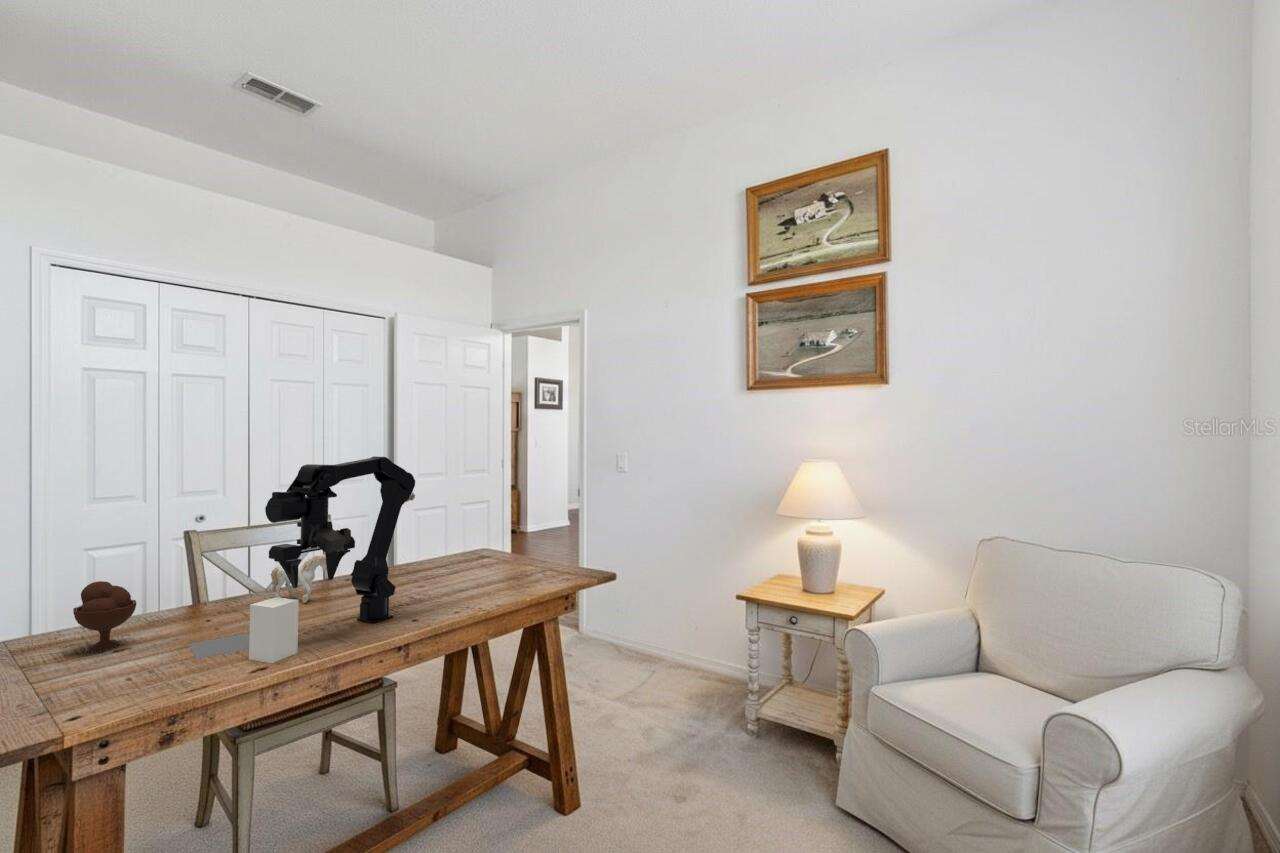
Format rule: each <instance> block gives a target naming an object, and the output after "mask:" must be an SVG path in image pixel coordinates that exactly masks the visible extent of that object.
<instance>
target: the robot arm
mask: <svg viewBox="0 0 1280 853" xmlns="http://www.w3.org/2000/svg"><path fill="white" fill-rule="evenodd" d="M372 474H373V476H374V478H375V480H376V481H377V482H379V484H380V491H379V493H380V495H381V496H380V497H381V501H382V503H381V506H380V510H379V513H378V516H377V519H376V522H375V524H374V526H375V527H374V528H373V532H372V535H371V539H370V543H369V546H368V549H367V553H366V554H365V556H364V557H363V558H362V559H361V560H360V559H356V560H355V562H354V565H353V569H352V572H351V573H350V576H351V580H350V581H351V584H352V586H353V587H354V589H355V592H356V593H355V594H356V596H361V597H360V598H361V599H360V604H359V616H357V617H356V620H358V621H362V622H366V623H369V624H375V623H379V622H381V621H385V620H387V619H390V617H391V618H394V615H393V614H390V613H389V612H390V610H389V609H390V608H389V607H390V597H392V596H394V595H395V591H396V585H394V584H393V583H392V582H391V581H390V580H389V579H388V577H389V571H390V570H389V566H388V562H387V561H388V560H387V557H388V554H389V550H390V547H391V544H392V539H393V537H394V532H395V529H396V527H397V523H398V520H399V516H400V512H401V508H402V506H403V505H404V504H405V503H406V502H407V501H408V499H409V498H410V497H411V496H412V493H413V491H414V488H415V487H416V479H415V478H414V475H413V474H412V473H410V472H408V471H406V470H405V469H404V468H402V467H400V466H399V465H397V464H396V463H394V462H393V461H391V459H389V457H387V456H371V457H370V458H364V459H363V458H362V459H359V460H353V461H352V460H351V461H347V462H343V463H337V464H318V463H317V464H304V465H302V466H301V467H300V468H299V470H298V471H297V475H296V477H295V478H294V480H293V481H292V482H291V484H290V485H289V487H288V488H287V489H286V491H272V492H271V497H270V498H269V499H268V501H267V503H266V506H265V508H264V511H265V515H266V518H267V520H268V521H269V522H270V523H271V524H275V523H282V522H291V521H297V523H296V525H297V526H296V527H298V528H299V527H300V539H296V544H293V543H292V544H291V543H283V544H276V545H272V546H271V547H270V548H269V550H268V559H270V560H274V562H276V563H279V565H280V566H281V568H283V569H284V571H285V573H286V575H287V577H288V579H289V581H290V586H291V588H292V589H297V588H298V586H299V584H298V568H299V566H300V565H301V563H302V561H303V559H301V558H300V557H301V555H302V554H305V553H311V552H317V551H322V552H323V553H324V554H325V556H326V566H327V571H326V575H327V579H328V580H329V581H333V580H334V577H335V575H336V572H337V570H338V567H339V564H340V562H341V561H342V558H343V557H344V556H345V555H346V554H348V553H350V552H351V550H352V549H355V547H356V540H355V538H354V537H353V536H352V530H351V529H350V528H348V527H344V528H341V529H336V530H335V529H333V523H332V521H329V498H337V497H338V494H337V493H336V492H334V491H333V490H332V489H331V488H332V487H334V486H337V485H338V484H340V482H342V481H344V480H349V479H353V478H358V477H363V476H367V475H372ZM298 520H300V521H298Z"/></svg>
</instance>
